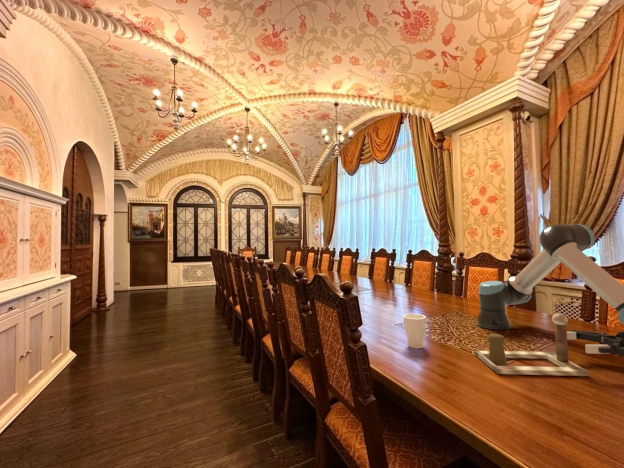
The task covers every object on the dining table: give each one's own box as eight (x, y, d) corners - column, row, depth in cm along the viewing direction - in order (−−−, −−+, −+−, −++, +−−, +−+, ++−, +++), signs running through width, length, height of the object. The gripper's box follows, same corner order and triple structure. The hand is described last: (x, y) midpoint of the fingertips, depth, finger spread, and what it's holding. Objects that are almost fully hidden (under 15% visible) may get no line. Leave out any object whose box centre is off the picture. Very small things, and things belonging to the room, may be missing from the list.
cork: (484, 361, 107) (482, 332, 107) (500, 360, 107) (498, 331, 107) (495, 368, 101) (493, 337, 101) (511, 367, 101) (509, 336, 101)
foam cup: (427, 343, 128) (426, 314, 128) (426, 350, 119) (425, 319, 120) (405, 341, 132) (404, 313, 132) (403, 348, 123) (402, 318, 124)
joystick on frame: (552, 355, 109) (549, 308, 110) (589, 376, 92) (585, 319, 93) (475, 354, 113) (472, 308, 114) (497, 373, 96) (494, 319, 97)
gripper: (680, 369, 86) (602, 367, 89) (605, 341, 111) (546, 340, 113) (678, 344, 86) (600, 343, 89) (604, 321, 111) (545, 321, 114)
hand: (570, 341), depth 101 cm, fingers open, 13 cm apart
